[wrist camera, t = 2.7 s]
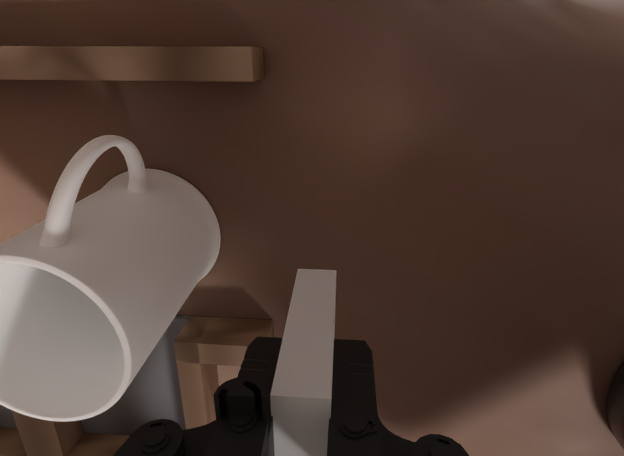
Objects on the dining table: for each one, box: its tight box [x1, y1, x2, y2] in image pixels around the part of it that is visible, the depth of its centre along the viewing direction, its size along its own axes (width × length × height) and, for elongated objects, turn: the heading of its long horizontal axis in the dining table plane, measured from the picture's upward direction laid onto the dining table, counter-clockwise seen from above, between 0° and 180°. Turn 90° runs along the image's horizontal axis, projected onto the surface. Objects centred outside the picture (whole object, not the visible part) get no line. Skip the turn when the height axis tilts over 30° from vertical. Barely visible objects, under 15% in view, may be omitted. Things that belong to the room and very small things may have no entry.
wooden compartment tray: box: [0, 46, 274, 456], centre depth 27 cm, size 32×31×6 cm
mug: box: [0, 135, 221, 422], centre depth 22 cm, size 12×8×12 cm
